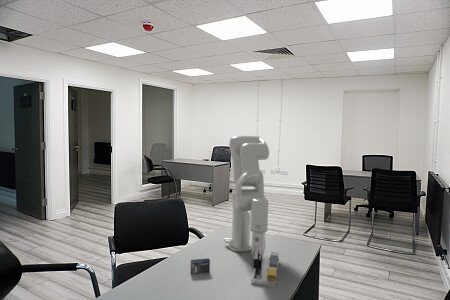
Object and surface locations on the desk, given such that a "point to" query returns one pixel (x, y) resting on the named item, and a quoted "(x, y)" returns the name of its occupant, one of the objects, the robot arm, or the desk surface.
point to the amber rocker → (271, 271)
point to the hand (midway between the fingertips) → (257, 267)
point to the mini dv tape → (200, 266)
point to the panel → (264, 274)
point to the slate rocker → (274, 259)
